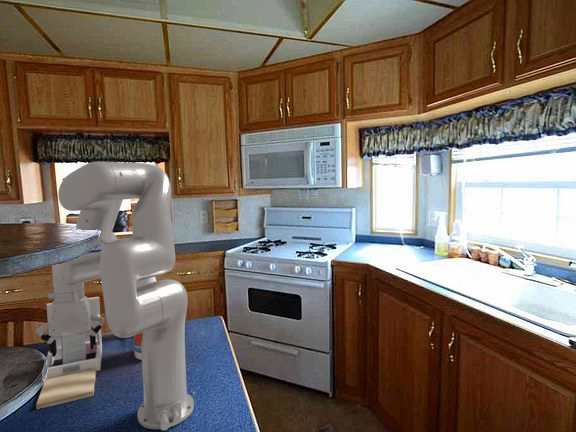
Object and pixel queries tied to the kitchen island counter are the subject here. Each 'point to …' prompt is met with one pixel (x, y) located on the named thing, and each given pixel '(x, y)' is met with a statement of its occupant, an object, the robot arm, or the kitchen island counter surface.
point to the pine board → (67, 388)
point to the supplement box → (73, 347)
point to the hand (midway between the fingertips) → (73, 350)
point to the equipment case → (97, 348)
